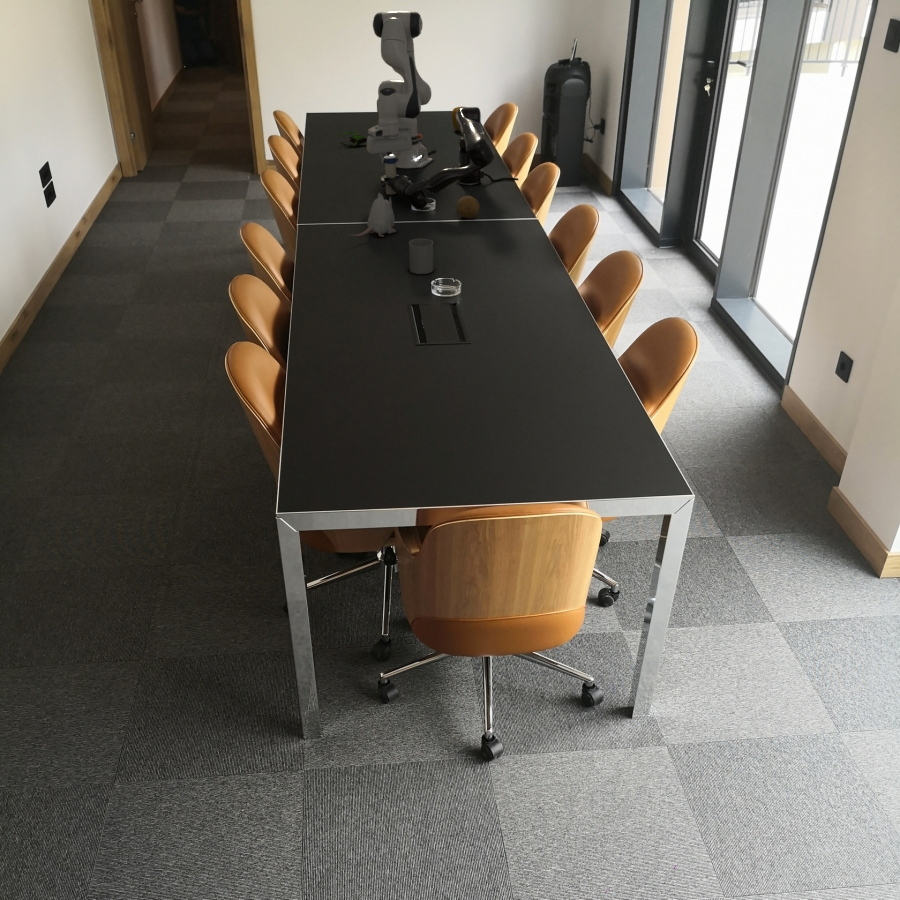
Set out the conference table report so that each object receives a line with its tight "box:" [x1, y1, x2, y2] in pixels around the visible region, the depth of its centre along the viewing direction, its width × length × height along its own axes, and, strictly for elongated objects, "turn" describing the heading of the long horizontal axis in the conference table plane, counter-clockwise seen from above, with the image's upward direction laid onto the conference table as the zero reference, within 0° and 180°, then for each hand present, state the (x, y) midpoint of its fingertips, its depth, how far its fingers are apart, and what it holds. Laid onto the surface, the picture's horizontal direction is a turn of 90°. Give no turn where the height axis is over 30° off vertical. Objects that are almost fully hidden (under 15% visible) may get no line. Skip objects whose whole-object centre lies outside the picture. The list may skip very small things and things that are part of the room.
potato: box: [456, 195, 481, 219], centre depth 357 cm, size 10×14×8 cm
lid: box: [383, 155, 396, 164], centre depth 380 cm, size 6×6×2 cm
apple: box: [451, 105, 464, 132], centre depth 487 cm, size 11×11×13 cm
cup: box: [408, 237, 434, 275], centre depth 305 cm, size 8×8×10 cm
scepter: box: [339, 131, 368, 148], centre depth 461 cm, size 6×13×30 cm
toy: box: [349, 192, 397, 238], centre depth 334 cm, size 9×24×15 cm, turn 137°
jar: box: [384, 163, 397, 195], centre depth 384 cm, size 5×5×15 cm
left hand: (390, 162), depth 381 cm, fingers closed on lid, 5 cm apart
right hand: (388, 176), depth 387 cm, fingers closed on jar, 4 cm apart
